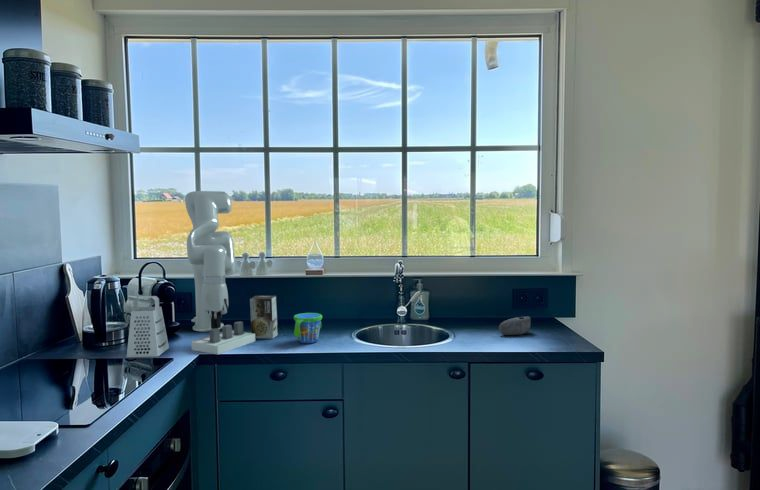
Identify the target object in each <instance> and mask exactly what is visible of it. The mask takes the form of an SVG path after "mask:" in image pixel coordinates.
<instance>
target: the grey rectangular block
mask: <svg viewBox="0 0 760 490" xmlns="http://www.w3.org/2000/svg"><path fill="white" fill-rule="evenodd" d="M232 326H233V325H231V324H226V325H224V326H222V329H221V331H222V332H221V333H222V337H221V338H224V339H229V338H232V337H233V336H232V330H233V327H232Z"/></svg>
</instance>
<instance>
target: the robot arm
mask: <svg viewBox="0 0 760 490" xmlns="http://www.w3.org/2000/svg"><path fill="white" fill-rule="evenodd" d="M184 203H185V209H186V213H187V215H188V217H189V219H190V220H191V224H192V229H191V231H190V232H189V233H188V236H187V238H186V252H187V253H186V254H187V259H188V262H189V264H191V266H192V267H191V268H192V272H193V277H194V278H193V279H194V289H195V290H194V291H195V292H194V293H195V315H196V316H194V317H193V318H192V319H191V322H192V323H194V325H193V326H192V331H195V332H209V330H211V329H214V328H218V329H219V330H222V326H225V325H224V323H223V322H221V318H222V316H223V315H226V314H227V315H228V309H229V292H228V287H227V283H226V277H231V276H233V275H234V274H235V273H236V257H235V256H236V255H235V249H234V248H235V247H234V241H233V237H232V234H231V233H230V232H229V231H225V230H224V231H223V230H222V231H221V230H220V231H217V230H218V229H219V226H220V221H219V220H220V219H219V215H220V214H223V215H224V214H229V213H231V211H232V200H231V198H230V195H229V194H228V193H227V192H226V191H220V190H219V191H218V190H215V191H214V190H213V191H212V190H211V191H210V190H194V191H189V192H187V193H186V195H185V198H184Z"/></svg>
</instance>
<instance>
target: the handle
mask: <svg viewBox="0 0 760 490" xmlns="http://www.w3.org/2000/svg"><path fill="white" fill-rule="evenodd" d="M220 331H221V330H220V329H218V328H214V329H211V330H209V331H208V332H209V336H210V341H208V342H211V343H216V342H219V341H221V340H220V333H221V332H220Z"/></svg>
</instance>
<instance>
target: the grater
mask: <svg viewBox="0 0 760 490" xmlns="http://www.w3.org/2000/svg"><path fill="white" fill-rule="evenodd" d="M139 299H152V300H153V301H154V306H140V307H139ZM163 314H164V313H163V309H162V306H160V298H159V297H158V296H157V295H140V296H138V297H135V299H133V310H131V311H130V321H129V330H128V331H129V332H128V340H127V350H126V358H146V357H148V358H149V357H151V358H152V357H159V356H160V355H161V354H163V353H164V352H165V351H167V350H168V349H169V348H170V347H169V346H170V345H169V342H168V341H169V340H168V335H167V330H166V324H165V319H164V315H163ZM140 352H141V353H140ZM147 352H148V353H147Z"/></svg>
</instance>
